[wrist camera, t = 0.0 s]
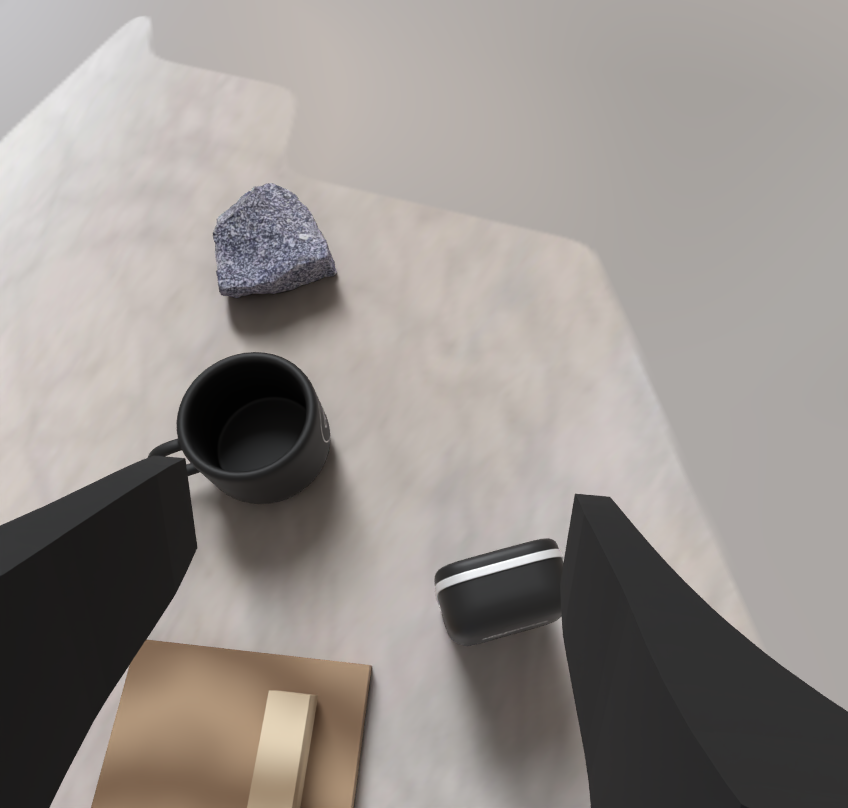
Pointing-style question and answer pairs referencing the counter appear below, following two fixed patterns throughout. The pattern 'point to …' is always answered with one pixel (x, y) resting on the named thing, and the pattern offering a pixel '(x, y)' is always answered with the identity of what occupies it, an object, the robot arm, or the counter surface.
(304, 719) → the leg
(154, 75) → the counter surface
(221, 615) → the counter surface
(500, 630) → the battery charger
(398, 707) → the counter surface
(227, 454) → the mug
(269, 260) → the rock
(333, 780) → the board
